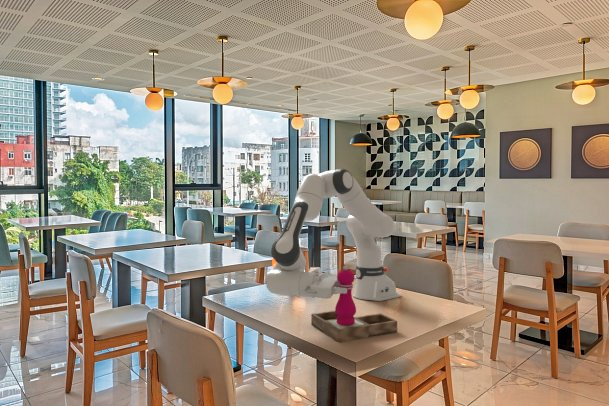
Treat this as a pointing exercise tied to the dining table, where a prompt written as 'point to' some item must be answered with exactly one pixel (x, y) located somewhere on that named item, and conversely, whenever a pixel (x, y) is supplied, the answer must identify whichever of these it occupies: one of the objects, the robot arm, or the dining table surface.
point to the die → (315, 269)
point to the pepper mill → (345, 298)
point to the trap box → (353, 326)
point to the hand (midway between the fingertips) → (349, 287)
